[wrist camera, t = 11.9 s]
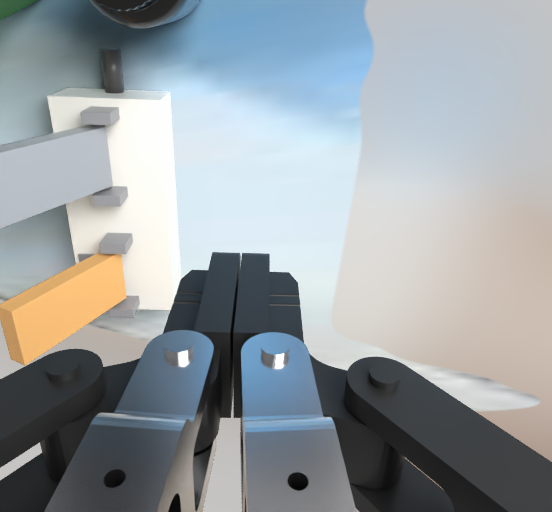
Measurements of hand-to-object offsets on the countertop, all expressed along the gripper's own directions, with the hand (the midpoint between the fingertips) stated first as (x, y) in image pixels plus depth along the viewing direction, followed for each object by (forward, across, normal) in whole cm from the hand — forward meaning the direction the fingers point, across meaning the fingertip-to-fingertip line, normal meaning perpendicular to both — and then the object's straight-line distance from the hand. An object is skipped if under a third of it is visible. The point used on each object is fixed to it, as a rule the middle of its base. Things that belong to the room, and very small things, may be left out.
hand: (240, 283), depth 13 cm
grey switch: (+25, +11, +4) cm, 28 cm away
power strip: (+29, +11, +7) cm, 32 cm away
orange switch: (+25, +11, +14) cm, 31 cm away
